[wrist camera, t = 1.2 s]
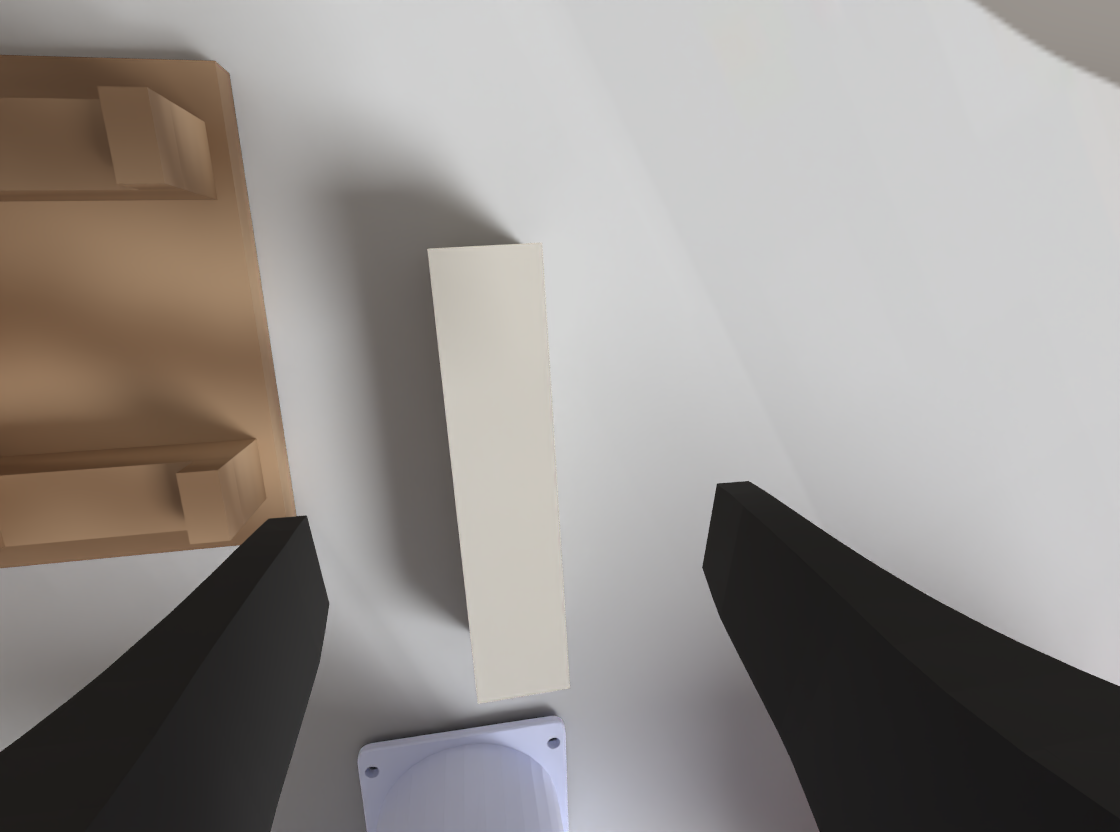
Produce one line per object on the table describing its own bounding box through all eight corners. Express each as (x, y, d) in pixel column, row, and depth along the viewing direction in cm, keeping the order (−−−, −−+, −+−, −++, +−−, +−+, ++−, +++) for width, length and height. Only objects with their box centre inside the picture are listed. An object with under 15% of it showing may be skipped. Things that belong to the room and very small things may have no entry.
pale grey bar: (551, 618, 23) (570, 688, 19) (474, 629, 22) (477, 704, 18) (525, 248, 19) (541, 242, 15) (434, 254, 19) (427, 248, 15)
